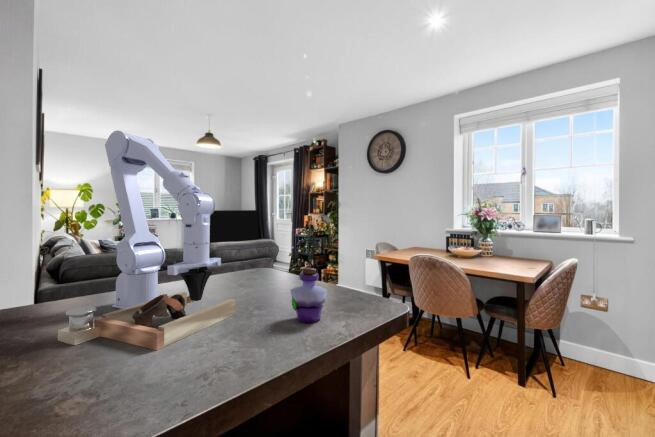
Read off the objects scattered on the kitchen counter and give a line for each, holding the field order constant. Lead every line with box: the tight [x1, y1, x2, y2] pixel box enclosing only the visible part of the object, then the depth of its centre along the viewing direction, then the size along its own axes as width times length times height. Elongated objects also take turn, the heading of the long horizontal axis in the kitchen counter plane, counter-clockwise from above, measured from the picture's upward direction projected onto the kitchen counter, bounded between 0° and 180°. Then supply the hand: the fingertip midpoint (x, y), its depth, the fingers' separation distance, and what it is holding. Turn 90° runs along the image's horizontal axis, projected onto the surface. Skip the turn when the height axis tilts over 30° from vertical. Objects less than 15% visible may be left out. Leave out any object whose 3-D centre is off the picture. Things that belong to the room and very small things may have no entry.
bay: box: [93, 291, 237, 351], centre depth 67 cm, size 17×22×4 cm
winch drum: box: [57, 305, 102, 346], centre depth 59 cm, size 5×5×5 cm
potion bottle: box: [290, 267, 328, 325], centre depth 72 cm, size 9×9×12 cm
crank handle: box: [187, 294, 195, 304], centre depth 82 cm, size 6×2×4 cm, turn 154°
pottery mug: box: [132, 293, 187, 327], centre depth 65 cm, size 12×10×8 cm
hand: (196, 299), depth 74 cm, fingers closed
